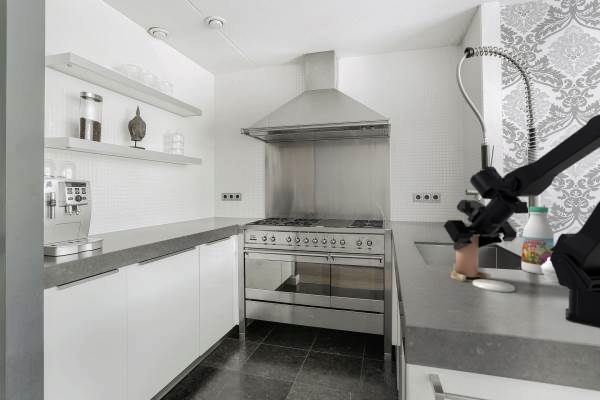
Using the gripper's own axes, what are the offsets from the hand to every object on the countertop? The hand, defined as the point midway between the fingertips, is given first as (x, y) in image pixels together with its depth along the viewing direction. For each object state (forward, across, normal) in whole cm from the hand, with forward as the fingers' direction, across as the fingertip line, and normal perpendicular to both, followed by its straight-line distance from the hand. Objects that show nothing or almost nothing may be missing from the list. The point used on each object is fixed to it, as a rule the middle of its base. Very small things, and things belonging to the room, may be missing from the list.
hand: (463, 248), depth 88 cm
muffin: (-1, -21, +12) cm, 25 cm away
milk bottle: (+6, -27, +6) cm, 28 cm away
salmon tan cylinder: (+4, 0, +6) cm, 7 cm away
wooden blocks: (+5, 0, +6) cm, 8 cm away
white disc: (-2, 0, +13) cm, 13 cm away
